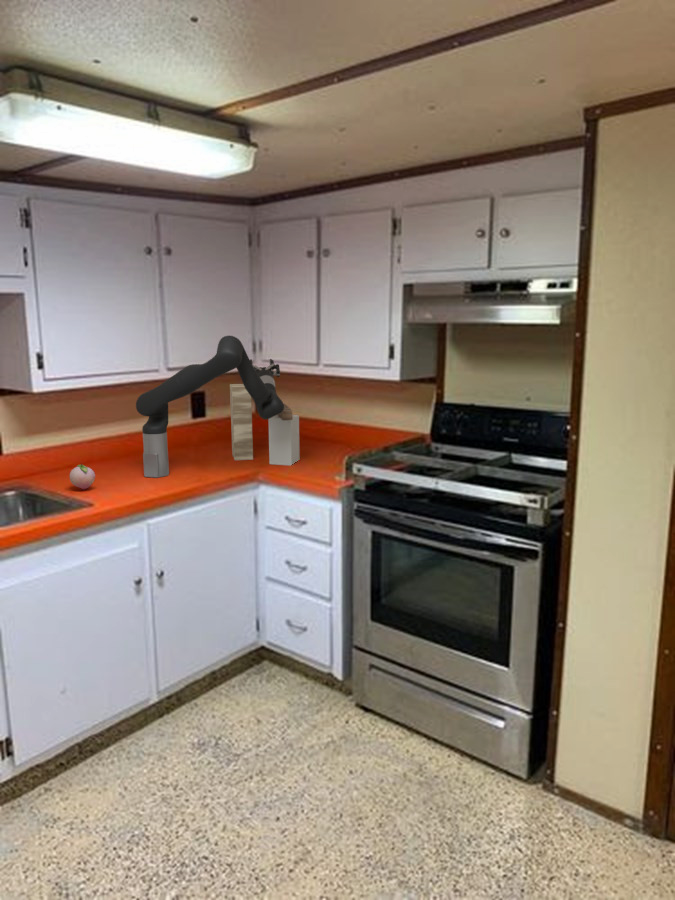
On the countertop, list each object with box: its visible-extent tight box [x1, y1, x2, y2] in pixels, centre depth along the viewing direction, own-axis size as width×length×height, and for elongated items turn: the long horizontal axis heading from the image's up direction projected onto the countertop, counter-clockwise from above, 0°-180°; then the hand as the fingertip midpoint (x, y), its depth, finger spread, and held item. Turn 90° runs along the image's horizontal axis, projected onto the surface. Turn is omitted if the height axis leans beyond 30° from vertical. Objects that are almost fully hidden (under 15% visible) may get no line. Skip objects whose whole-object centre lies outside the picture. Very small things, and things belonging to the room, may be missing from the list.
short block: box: [267, 414, 300, 466], centre depth 294 cm, size 10×10×20 cm
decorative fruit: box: [69, 462, 96, 491], centre depth 251 cm, size 9×8×10 cm
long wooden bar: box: [277, 403, 293, 420], centre depth 291 cm, size 21×4×4 cm, turn 13°
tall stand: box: [229, 383, 254, 461], centre depth 303 cm, size 12×8×32 cm, turn 13°
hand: (260, 360), depth 294 cm, fingers open, 8 cm apart
